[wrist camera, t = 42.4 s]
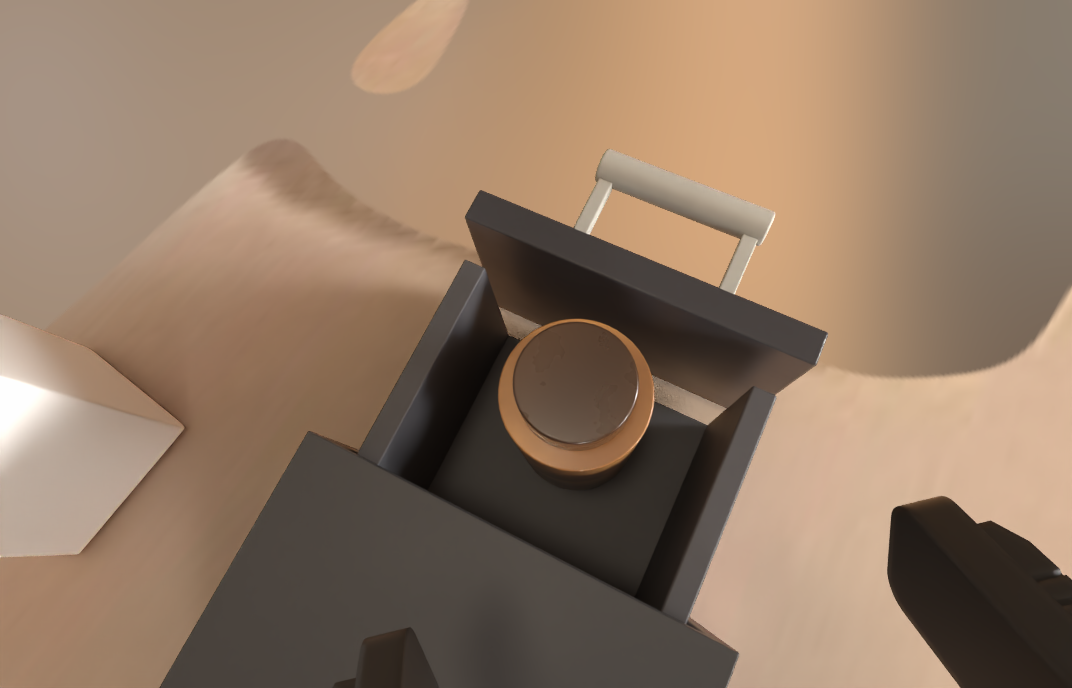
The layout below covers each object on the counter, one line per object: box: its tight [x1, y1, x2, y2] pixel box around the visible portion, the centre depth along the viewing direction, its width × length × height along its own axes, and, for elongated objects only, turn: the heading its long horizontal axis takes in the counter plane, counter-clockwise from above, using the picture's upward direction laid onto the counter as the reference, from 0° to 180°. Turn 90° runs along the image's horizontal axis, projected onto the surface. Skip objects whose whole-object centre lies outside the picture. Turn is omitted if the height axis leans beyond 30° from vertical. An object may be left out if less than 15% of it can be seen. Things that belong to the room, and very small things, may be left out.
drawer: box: [357, 149, 828, 624], centre depth 24 cm, size 20×12×9 cm, turn 154°
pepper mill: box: [498, 319, 654, 490], centre depth 23 cm, size 5×5×10 cm
